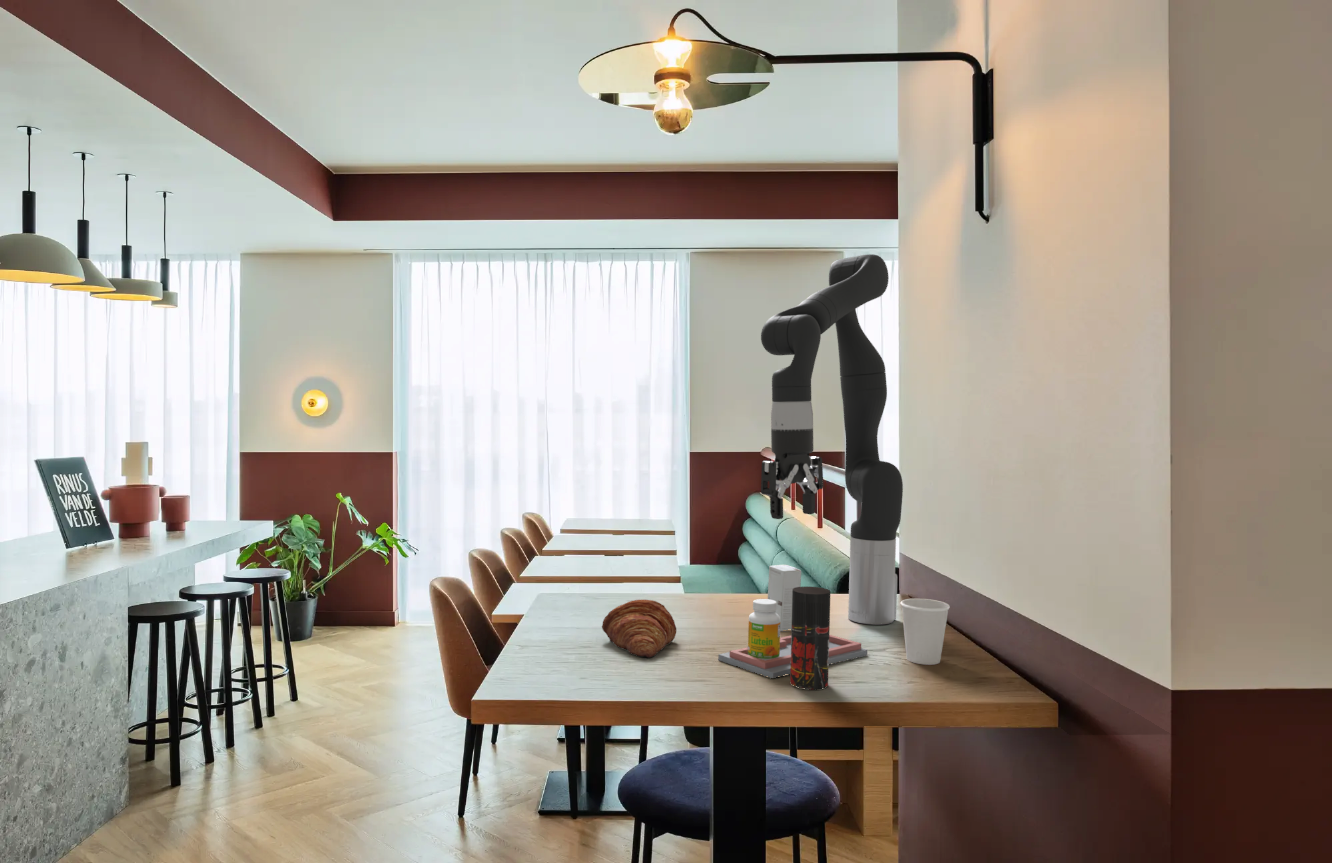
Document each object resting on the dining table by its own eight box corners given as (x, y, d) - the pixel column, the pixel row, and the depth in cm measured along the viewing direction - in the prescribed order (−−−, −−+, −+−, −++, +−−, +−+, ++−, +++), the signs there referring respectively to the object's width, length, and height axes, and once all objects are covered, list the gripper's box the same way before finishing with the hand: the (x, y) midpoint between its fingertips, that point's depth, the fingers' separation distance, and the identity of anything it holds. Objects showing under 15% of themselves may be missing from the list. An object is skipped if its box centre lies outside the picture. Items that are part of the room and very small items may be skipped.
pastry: (702, 644, 164) (703, 601, 163) (646, 661, 152) (646, 615, 152) (636, 628, 175) (637, 587, 175) (579, 642, 163) (580, 599, 163)
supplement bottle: (746, 661, 149) (747, 603, 148) (749, 652, 154) (750, 597, 154) (778, 663, 148) (779, 605, 147) (780, 654, 153) (781, 598, 153)
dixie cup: (947, 669, 151) (948, 610, 150) (896, 663, 153) (898, 605, 153) (949, 656, 158) (951, 600, 158) (901, 651, 161) (902, 596, 161)
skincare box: (765, 624, 179) (766, 564, 178) (784, 623, 180) (786, 563, 180) (780, 632, 173) (782, 570, 173) (800, 630, 175) (802, 569, 174)
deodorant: (786, 678, 143) (788, 586, 143) (822, 678, 144) (824, 586, 143) (794, 690, 138) (797, 594, 137) (832, 690, 138) (834, 594, 138)
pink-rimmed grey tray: (812, 639, 168) (812, 628, 168) (867, 655, 158) (867, 644, 158) (718, 660, 153) (718, 648, 153) (772, 679, 143) (773, 666, 143)
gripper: (781, 428, 152) (782, 522, 153) (833, 425, 162) (834, 514, 162) (749, 428, 158) (750, 518, 159) (802, 424, 167) (803, 510, 168)
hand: (793, 516), depth 161 cm, fingers open, 8 cm apart
